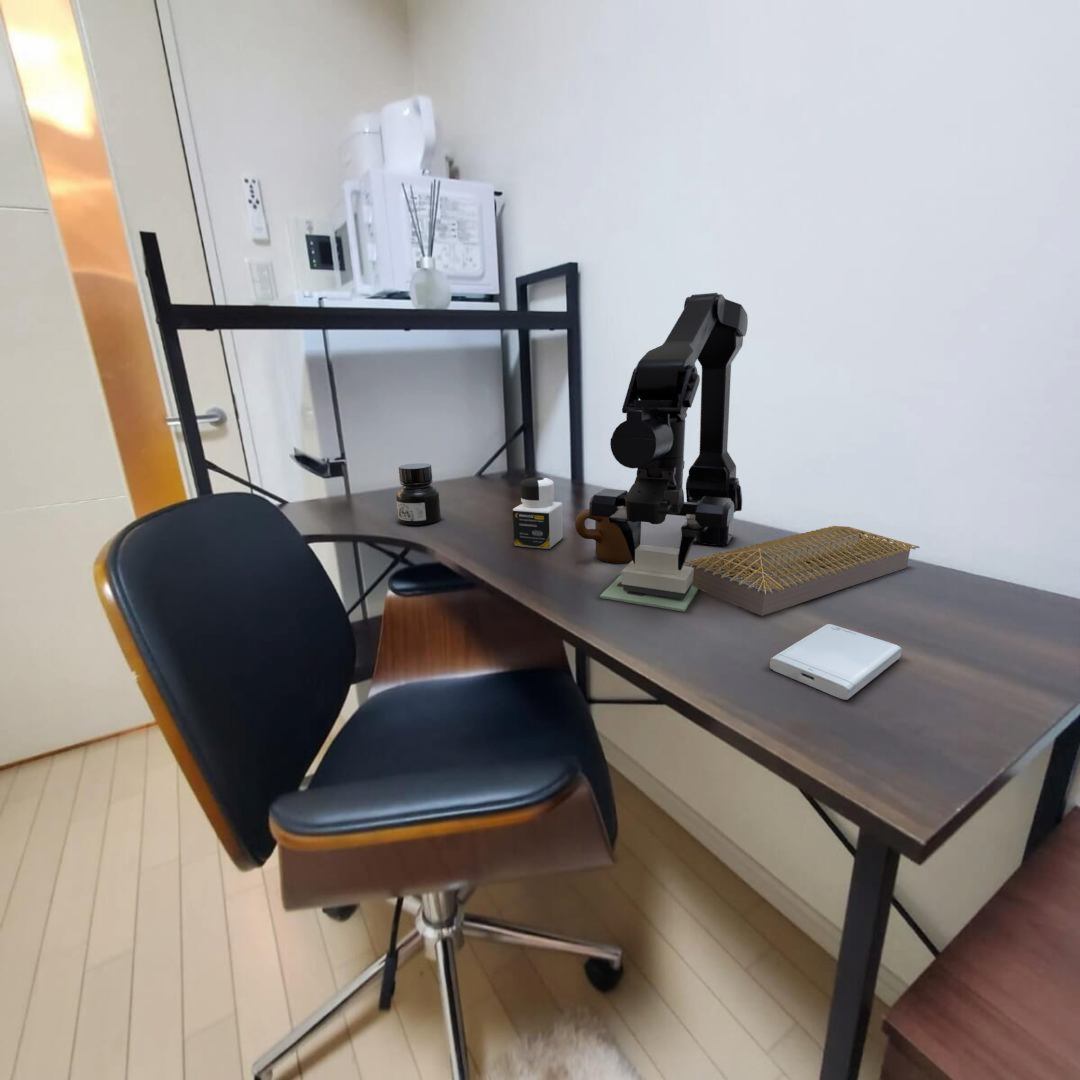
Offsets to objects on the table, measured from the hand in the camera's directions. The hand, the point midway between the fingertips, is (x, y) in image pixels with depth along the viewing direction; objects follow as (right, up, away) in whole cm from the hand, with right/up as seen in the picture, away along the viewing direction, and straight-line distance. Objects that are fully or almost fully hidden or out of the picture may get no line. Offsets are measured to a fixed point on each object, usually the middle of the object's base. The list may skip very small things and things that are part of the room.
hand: (657, 566), depth 81 cm
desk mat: (-1, -4, +2) cm, 4 cm away
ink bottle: (-43, +8, +43) cm, 61 cm away
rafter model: (+23, -2, +6) cm, 24 cm away
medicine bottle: (-17, +3, +26) cm, 31 cm away
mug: (-5, 0, +16) cm, 17 cm away
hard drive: (+15, -10, -19) cm, 26 cm away
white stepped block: (0, -3, +1) cm, 3 cm away
